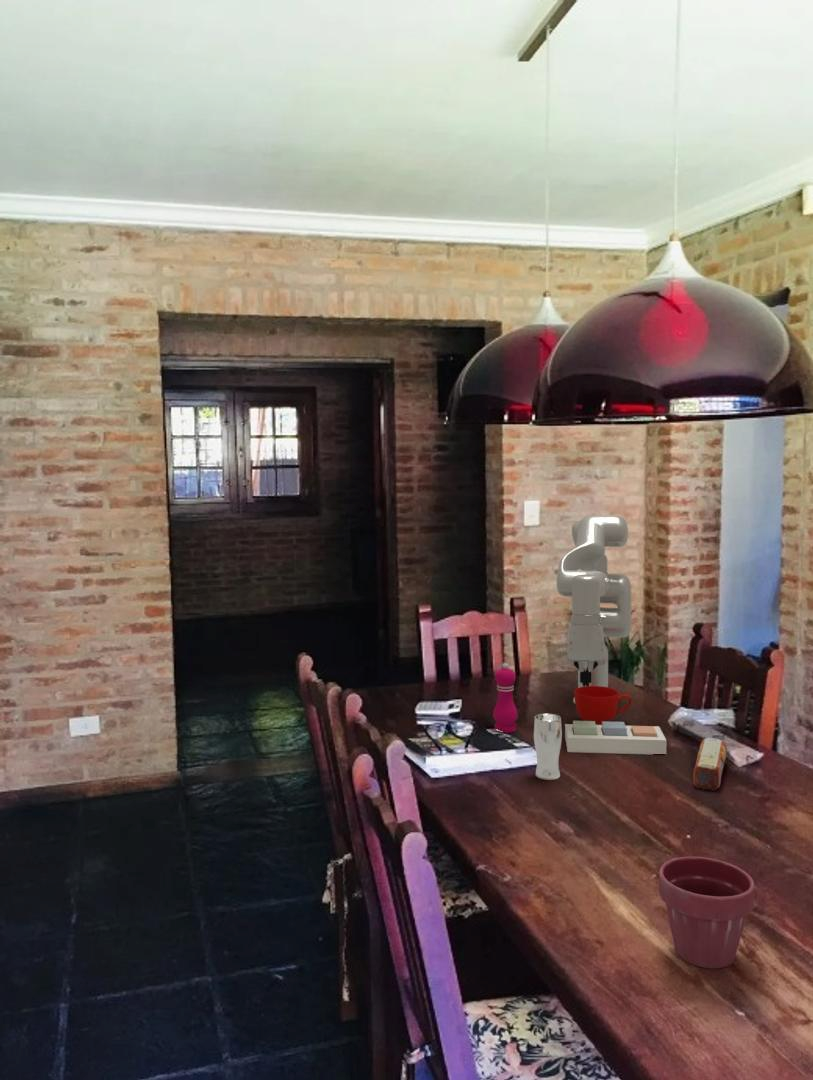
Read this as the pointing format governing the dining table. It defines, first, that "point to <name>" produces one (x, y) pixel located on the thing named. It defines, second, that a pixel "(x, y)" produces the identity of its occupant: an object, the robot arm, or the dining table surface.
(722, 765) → the snack package
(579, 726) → the button sage
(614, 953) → the dining table surface
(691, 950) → the plant pot
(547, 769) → the beer glass
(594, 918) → the dining table surface
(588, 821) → the dining table surface
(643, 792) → the dining table surface
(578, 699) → the ceramic cup
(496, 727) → the pepper mill
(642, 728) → the button terracotta
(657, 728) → the button panel
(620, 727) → the button slate
